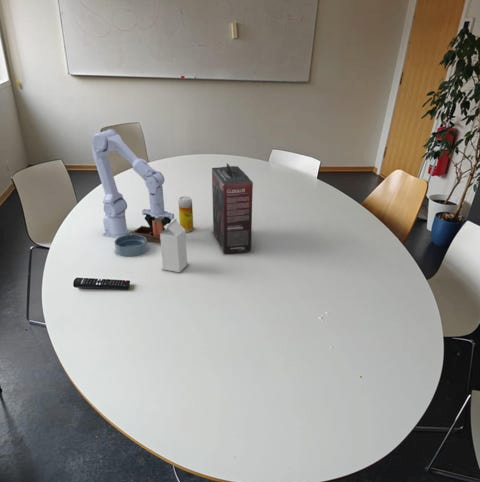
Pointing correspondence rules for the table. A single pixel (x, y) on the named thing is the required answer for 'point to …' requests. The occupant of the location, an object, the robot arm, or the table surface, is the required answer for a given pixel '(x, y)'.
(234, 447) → the table surface
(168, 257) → the milk carton
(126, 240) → the bowl
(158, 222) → the cup
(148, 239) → the box
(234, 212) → the headset box
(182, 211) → the beer can
